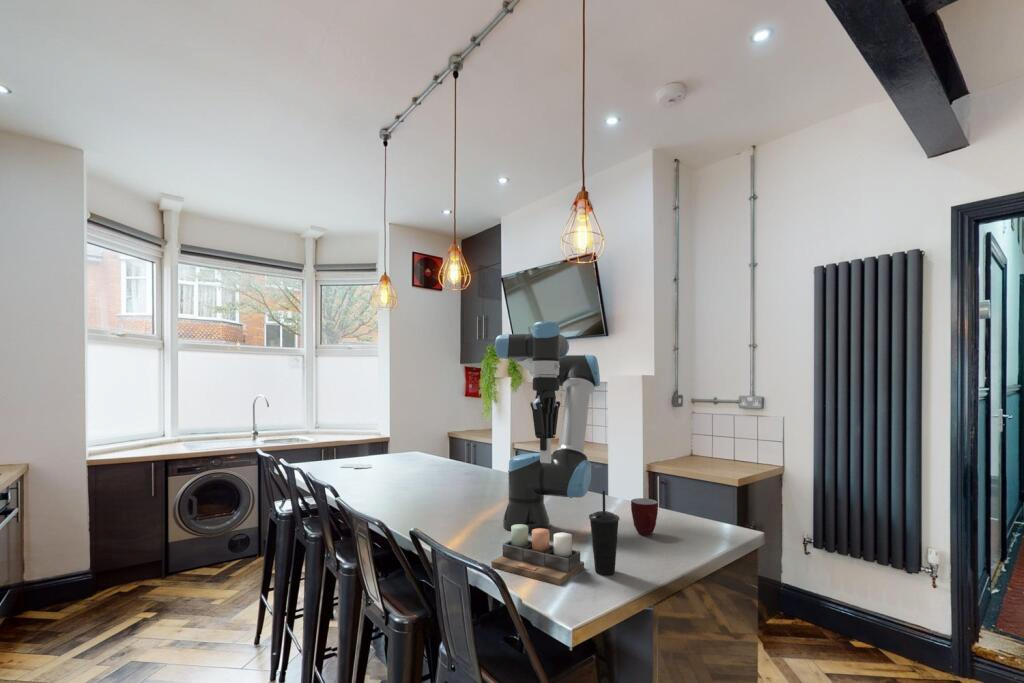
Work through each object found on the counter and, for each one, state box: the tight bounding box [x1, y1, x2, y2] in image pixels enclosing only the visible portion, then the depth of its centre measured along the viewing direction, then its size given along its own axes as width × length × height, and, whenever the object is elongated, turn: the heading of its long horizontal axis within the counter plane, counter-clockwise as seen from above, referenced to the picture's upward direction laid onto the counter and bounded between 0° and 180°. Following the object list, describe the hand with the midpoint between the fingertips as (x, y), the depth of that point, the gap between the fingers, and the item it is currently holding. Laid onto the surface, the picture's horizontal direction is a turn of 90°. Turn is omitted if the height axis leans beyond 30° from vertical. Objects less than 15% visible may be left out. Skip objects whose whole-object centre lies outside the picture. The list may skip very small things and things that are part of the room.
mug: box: [630, 497, 659, 537], centre depth 156 cm, size 11×8×10 cm
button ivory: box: [553, 532, 573, 558], centre depth 127 cm, size 5×5×5 cm
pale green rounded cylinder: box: [510, 524, 529, 548], centre depth 134 cm, size 5×5×5 cm
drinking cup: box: [588, 490, 621, 577], centre depth 127 cm, size 8×8×20 cm
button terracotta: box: [531, 528, 551, 553], centre depth 131 cm, size 5×5×5 cm
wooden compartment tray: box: [490, 539, 585, 586], centre depth 129 cm, size 20×13×4 cm, turn 56°
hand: (545, 462), depth 138 cm, fingers closed
